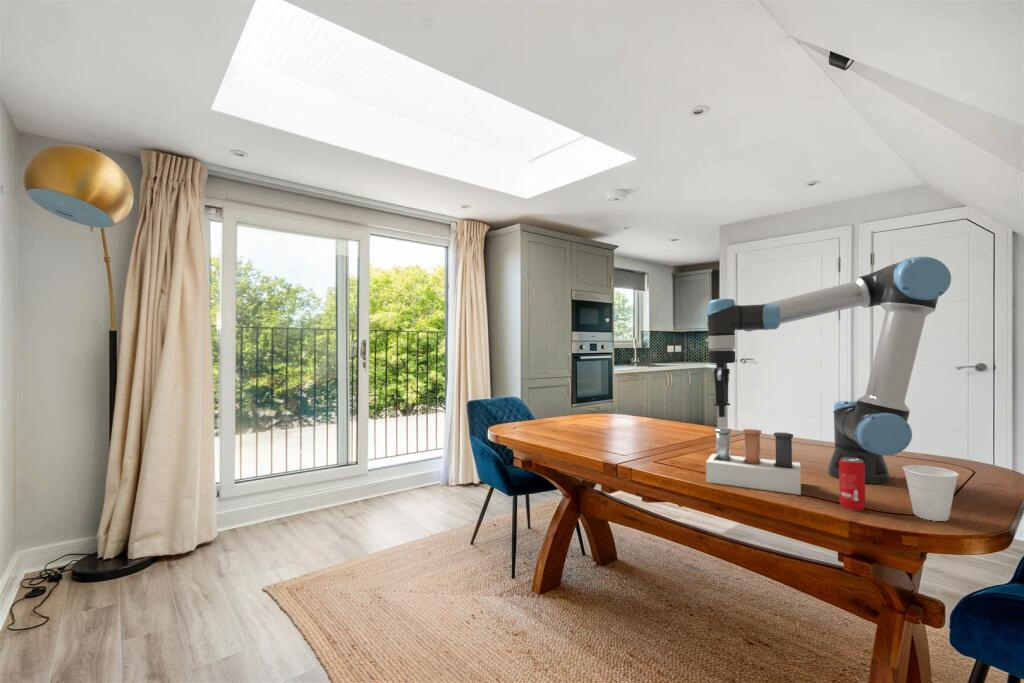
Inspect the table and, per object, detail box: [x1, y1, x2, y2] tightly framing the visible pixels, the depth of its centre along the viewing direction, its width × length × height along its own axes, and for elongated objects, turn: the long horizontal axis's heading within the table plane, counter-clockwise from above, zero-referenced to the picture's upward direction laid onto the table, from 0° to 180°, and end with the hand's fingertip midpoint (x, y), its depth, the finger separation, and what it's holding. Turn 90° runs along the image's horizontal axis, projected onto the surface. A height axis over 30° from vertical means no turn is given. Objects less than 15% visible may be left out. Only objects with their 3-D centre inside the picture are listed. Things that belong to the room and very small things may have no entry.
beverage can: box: [838, 457, 866, 512], centre depth 117 cm, size 5×5×12 cm
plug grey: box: [713, 427, 732, 462], centre depth 142 cm, size 5×5×10 cm
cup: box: [902, 464, 960, 522], centre depth 110 cm, size 10×10×11 cm
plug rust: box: [742, 428, 762, 465], centre depth 138 cm, size 5×5×10 cm
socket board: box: [705, 453, 802, 496], centre depth 138 cm, size 24×12×6 cm, turn 58°
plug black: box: [773, 432, 794, 469], centre depth 134 cm, size 5×5×10 cm
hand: (722, 427), depth 142 cm, fingers closed
